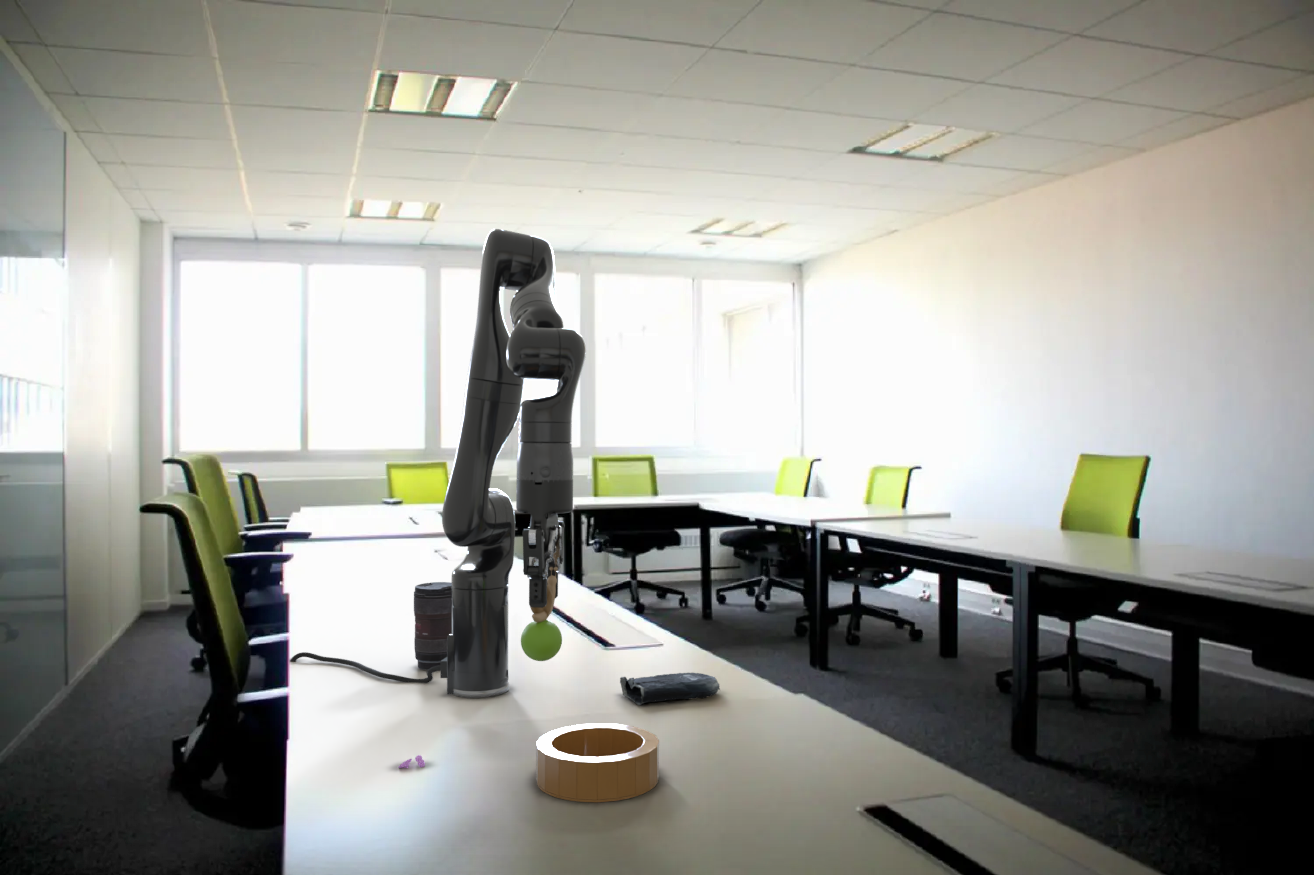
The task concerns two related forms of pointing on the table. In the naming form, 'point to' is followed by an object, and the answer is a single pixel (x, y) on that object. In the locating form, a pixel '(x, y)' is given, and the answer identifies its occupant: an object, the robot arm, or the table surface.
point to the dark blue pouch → (669, 687)
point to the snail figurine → (542, 628)
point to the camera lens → (432, 622)
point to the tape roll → (597, 762)
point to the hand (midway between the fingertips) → (543, 602)
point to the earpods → (407, 762)
